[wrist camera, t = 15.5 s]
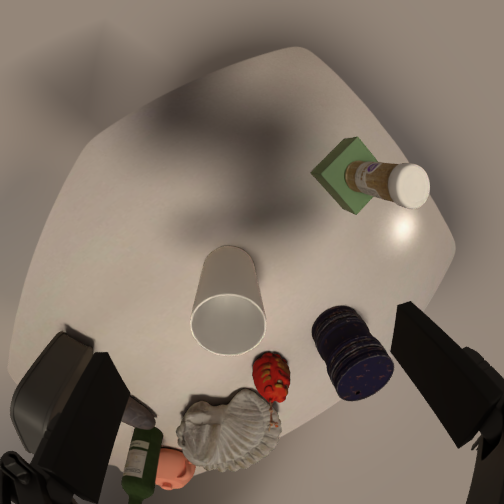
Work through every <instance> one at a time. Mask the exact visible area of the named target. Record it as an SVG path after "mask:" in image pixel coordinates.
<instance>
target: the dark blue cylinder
mask: <svg viewBox="0 0 504 504" xmlns="http://www.w3.org/2000/svg"><path fill="white" fill-rule="evenodd" d="M312 337H313V339H314V341H315V345H316V348H317V350H318V352H319V354H320V356H321V358H322V359H323V360H324V361H325V363H326V365H327V372H328V375H329V377H330V379H331V382H332V384H333V385H334V387H335V389H336V392H337V394H338V396H339V397H340V398H341V399H343V400H346V401H358V400H361V399H365V398H367V397H369V396H371V395H373V394H375V393H376V392H378V391H379V390H380V389H381V388H383V387H384V386H385V385H386V384H387V382H388V381H389V380H390V378H391V376H392V374H393V371H394V363H393V361H392V359H391V358H390V357H389V355H388V354H387V352H386V350H385V349H384V347H383V346H382V345H381V343H380V342H379V341H378V340H377V339H376V338H375V337H373V336H372V335H371V333H370V332H369V329H368V327H367V325H366V323H365V322H364V321H363V320H362V318H361V317H360V316H359V315H358V314H357V313H356V312H355V310H354V309H352V308H350V307H348V306H335V307H332V308H330V309H328V310H326V311H324V312H323V313H322V314H321V315H320V316H319V317H318V318H317V319H316V321H315V322H314V324H313V327H312Z"/></svg>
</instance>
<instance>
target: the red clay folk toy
mask: <svg viewBox="0 0 504 504" xmlns="http://www.w3.org/2000/svg"><path fill="white" fill-rule="evenodd" d="M252 376H253V380H254V384H255V386H256V388H257V391H258V392H259V394H260V395H261V396H262V397H264V398H265V399H266V400H267V401H268V402H269V403H270V409H269V412H270V424H269V425H270V426H269V425H268V426H269V429H268V431H270V428H271V426H273V423H274V425H275V427H278V422H274V421H273V418H272V412H273V410H272V405H273V402H274V401H277V402H279V403H281V402H283V401H284V400H285V399H286V395H287V394H288V388H289V385H290V370H289V366H288V365H287V361H286V360H285V359H281V357H280V355H278V354H274V353H271V352H266V353H264V355H262V357H259V358H258V359H257V360H256V361H255V363H254V365H253V373H252ZM268 426H267V427H268Z"/></svg>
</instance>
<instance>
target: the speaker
mask: <svg viewBox="0 0 504 504" xmlns="http://www.w3.org/2000/svg"><path fill="white" fill-rule="evenodd" d="M92 356H93V348H92V347H90V346H88V347H87V346H85V345H83V344H82V343H80V342H78V341H76V340H74V339H73V338H71V337H69V336H67V334H66V333H65V332H63V331H61V332H59V333H57V334H56V336H55V337H54V338H53V339H52V340H51V342H50V343H49V344H48V345H47V347H46V348H45V349H44V350H43V352H42V353H41V354H40V355H39V357H38V358H37V359H36V361H35V362H34V363H33V365H32V366H31V367H30V369H29V370H28V371H27V373H26V374H25V376H24V377H23V378H22V380H21V381H20V383H19V384H18V386H17V388H16V390H15V392H14V394H13V397H12V401H11V407H10V416H11V420H12V422H13V425H14V427H15V429H16V431H17V434H18V436H19V438H20V440H21V442H22V444H23V446H24V448H25V450H26V451H27V452H29V453H32V454H35V452H36V450H37V448H38V446H39V443H40V441H41V439H42V438H43V435H44V433H45V431H47V427H48V425H49V423H50V421H51V419H52V418H53V417H54V416H55V415H56V414H57V413H58V412H60V413H61V412H62V410H63V408H64V406H65V405H66V403H67V401H68V399H69V397H70V395H71V393H72V391H73V390H74V388H75V386H76V384H77V382H78V380H79V379H80V377H81V375H82V373H83V372H84V370H85V368H86V366H87V365H88V363H89V361H90V360H91V358H92Z"/></svg>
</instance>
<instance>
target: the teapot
mask: <svg viewBox="0 0 504 504" xmlns="http://www.w3.org/2000/svg"><path fill="white" fill-rule="evenodd" d="M195 468H196V466H195V465H193V464H192V463H190V462H189V461H188V459H187V458H186V457H185V456H184V454H183V453H182V452H179V451H176V450H173V449H167V448H161V450H160V456H159V462H158V468H157V475H156V481H155V484H157V485H159V486H161V488H163V489H165V490H172V489H177V488H182V487H183V486H185V485H186V484H187V483H188V482H189V481H190V479H191V478H192V477H193V475H194V472H195Z"/></svg>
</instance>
